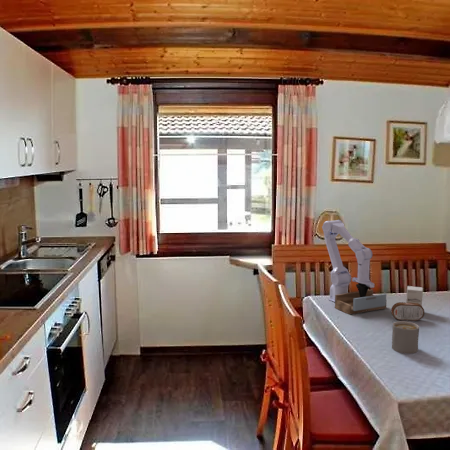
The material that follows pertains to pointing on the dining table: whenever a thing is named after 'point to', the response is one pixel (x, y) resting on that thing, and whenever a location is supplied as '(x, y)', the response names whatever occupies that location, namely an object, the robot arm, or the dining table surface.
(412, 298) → the supplement box
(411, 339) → the coffee mug
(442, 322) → the dining table surface
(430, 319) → the dining table surface
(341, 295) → the wooden tray
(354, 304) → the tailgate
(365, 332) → the dining table surface
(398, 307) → the tin
